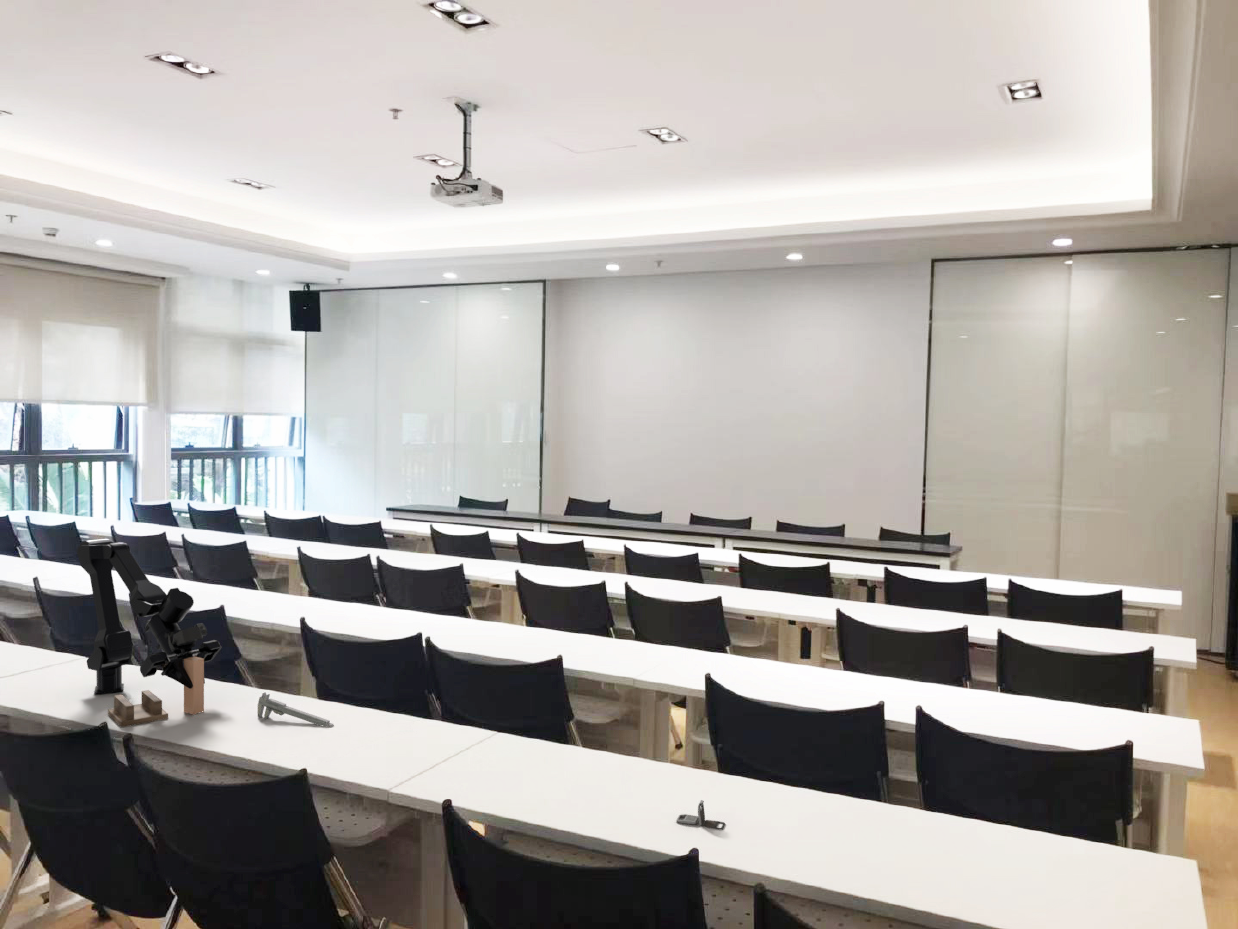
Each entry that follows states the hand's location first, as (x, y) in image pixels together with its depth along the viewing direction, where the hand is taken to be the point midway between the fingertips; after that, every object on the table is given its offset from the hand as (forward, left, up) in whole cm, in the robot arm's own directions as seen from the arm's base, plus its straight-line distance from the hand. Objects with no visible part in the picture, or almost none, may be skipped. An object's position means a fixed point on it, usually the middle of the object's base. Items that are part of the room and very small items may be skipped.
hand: (197, 686), depth 221 cm
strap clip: (+103, +78, -7) cm, 129 cm away
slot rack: (-3, -13, -7) cm, 15 cm away
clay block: (-1, -1, -7) cm, 7 cm away
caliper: (+16, +20, -7) cm, 27 cm away
